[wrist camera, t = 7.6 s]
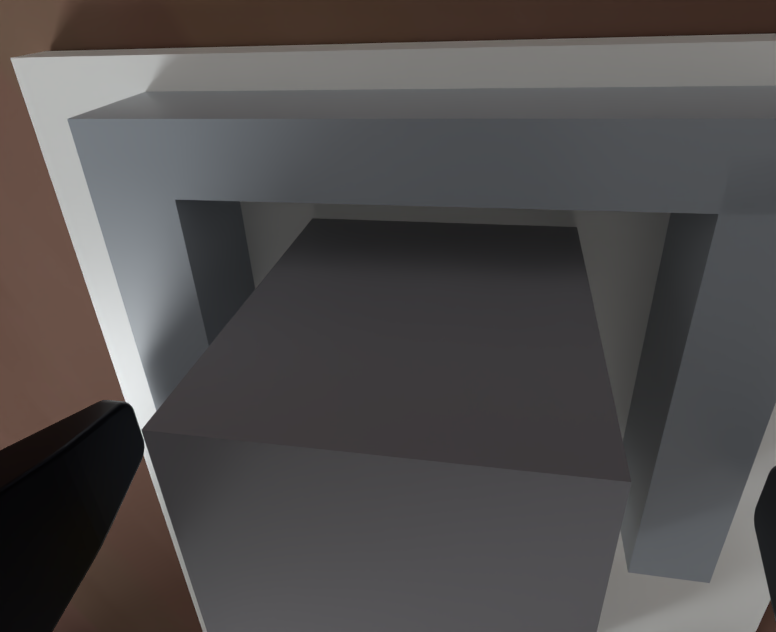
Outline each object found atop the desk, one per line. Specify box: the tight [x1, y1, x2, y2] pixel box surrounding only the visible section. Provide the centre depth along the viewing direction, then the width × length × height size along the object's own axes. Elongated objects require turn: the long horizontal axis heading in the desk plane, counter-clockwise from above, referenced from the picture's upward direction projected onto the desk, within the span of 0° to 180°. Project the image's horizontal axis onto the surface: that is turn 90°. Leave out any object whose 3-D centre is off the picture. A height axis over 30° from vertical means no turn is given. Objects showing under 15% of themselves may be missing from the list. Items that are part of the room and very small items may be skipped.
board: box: [11, 33, 776, 632], centre depth 11 cm, size 17×13×4 cm
